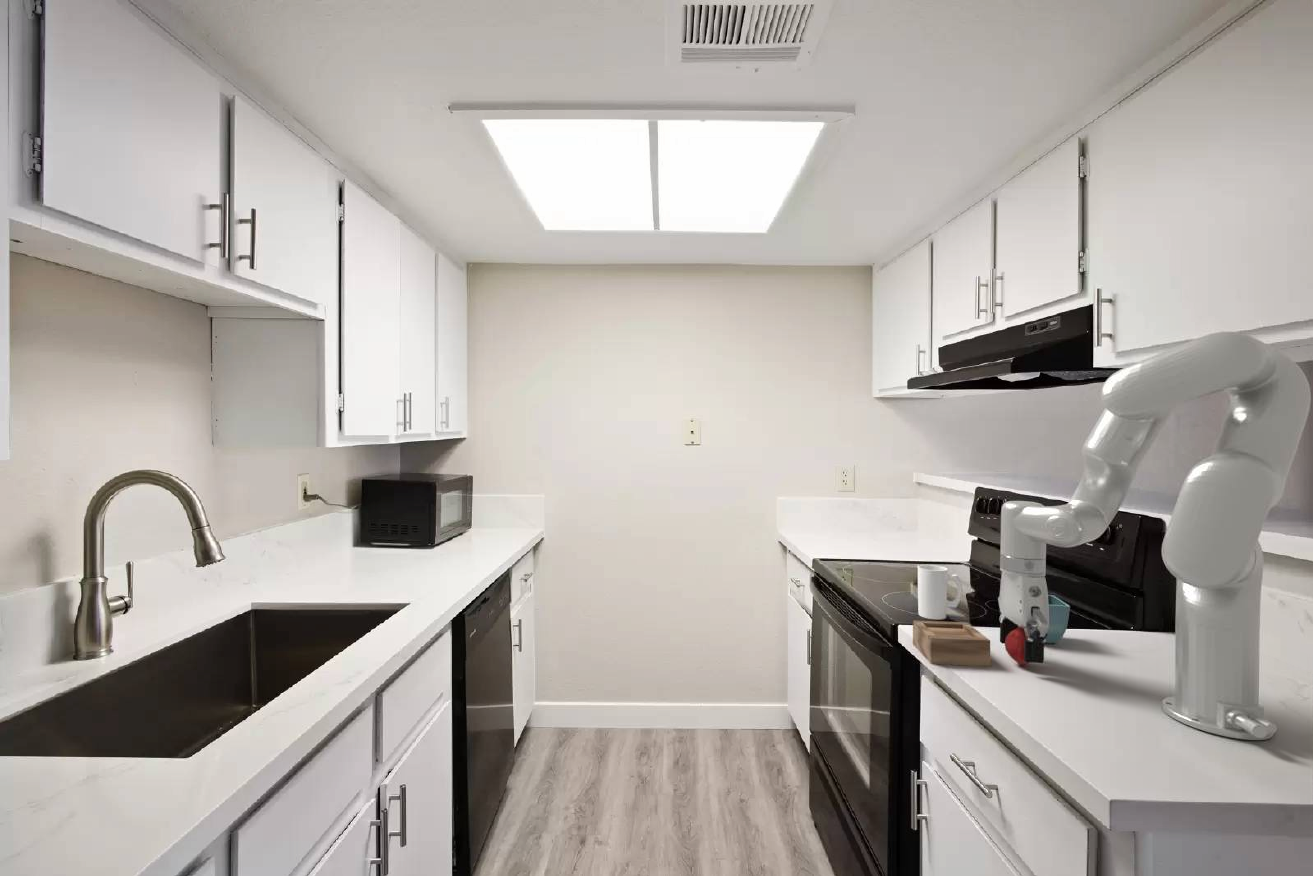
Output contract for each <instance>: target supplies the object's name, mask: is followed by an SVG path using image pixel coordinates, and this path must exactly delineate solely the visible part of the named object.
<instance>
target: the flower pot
mask: <svg viewBox="0 0 1313 876" xmlns="http://www.w3.org/2000/svg"><path fill="white" fill-rule="evenodd" d="M1048 605H1049V629H1048V631H1047V637H1046V638H1045V639H1046V642H1045V643H1046V644H1052V643H1054V644H1058V643H1059V642H1060V640H1061V639H1062V638H1063V636H1064V635H1065V632H1066V630H1067V628H1068V621H1069V617H1070V609H1071V606H1070V605H1069V604H1067V603H1066V602H1065V601H1063V600H1061V599H1060V598H1058V597H1056V596H1055V595H1052V594H1051V595H1050V594H1048ZM1027 624H1031V623H1027ZM1018 627H1019V626H1018ZM1030 631H1031V633H1033V632H1034V631H1035V630H1031V629H1030ZM1045 643H1044V644H1045Z"/></svg>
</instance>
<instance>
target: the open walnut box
mask: <svg viewBox="0 0 1313 876" xmlns="http://www.w3.org/2000/svg"><path fill="white" fill-rule="evenodd" d="M912 645H913V646H914V647H915V648H916V649H917V650H918V651H919V652H920V654H921V655H922V656H923V657H924V658H925V659H926V661H927V662H928V663H930V664H936V665H937V664H938V665H952V666H953V665H954V666H955V665H956V666H959V665H960V666H972V667H974V666H977V667H991V640H990V639H989V638H988V637H986V636H985V635H983V634H982V633H981V631H978V630H977V629H976V628H975V627H973V626H972V625H971V624H969V623H968V622H961V621H959V622H958V621H957V622H955V621H939V620H912Z"/></svg>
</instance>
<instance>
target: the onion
mask: <svg viewBox="0 0 1313 876" xmlns="http://www.w3.org/2000/svg"><path fill="white" fill-rule="evenodd" d="M1031 634H1032V633H1031ZM1024 640H1027V638H1026V635H1025V631H1024V628H1022V627H1020V626H1019V627H1018V629H1015V630H1013V631H1011V632H1010V633H1009V634H1008V635H1007V637H1006V640H1005V644H1004V647H1005V650H1006V652H1007V655H1009V657H1010V658H1011V659H1012V660H1013V661H1015V662H1016V663H1017V665H1018V664H1019V665H1020V666H1026V665H1028V664H1030V663H1029V662H1026V661H1025V660H1024Z"/></svg>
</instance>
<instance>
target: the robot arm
mask: <svg viewBox="0 0 1313 876" xmlns="http://www.w3.org/2000/svg"><path fill="white" fill-rule="evenodd" d="M1309 383H1310V382H1309V381H1308V378H1307V376H1306V375H1305V373H1304V371H1303V370H1302V369H1301V368H1300V366H1299V365H1298V364H1297V363H1296V362H1295V361H1294V360H1292V359H1291V358H1289V356H1287V355H1286V354H1284V353H1283V352H1282V351H1280V350H1277V349H1276V348H1274V347H1272V346H1271V345H1269V344H1267V343H1266V342H1263V341H1262V340H1259V339H1257V338H1255V337H1253V336H1251V335H1249V334H1246V333H1243V332H1238V331H1218V332H1213V333H1209V334H1206V335H1203V336H1201V337H1198V338H1195V339H1193V340H1189V341H1187V342H1185V343H1182V344H1179V345H1177V346H1174V347H1172V348H1170V349H1167V350H1165V351H1163V352H1160V353H1158V354H1156V355H1153V356H1150V357H1147V358H1144V359H1143V360H1140V361H1138V362H1135V363H1133V364H1130V365H1128V366H1126V367H1123V368H1121V369H1119V370H1117V371H1115V372H1114V373H1113V374H1111V375H1110V376H1109V377H1108V378H1106V380H1105V381H1104V383H1103V385H1102V387H1101V391H1100V400H1101V403H1102V405H1103V407H1104V409H1103V411H1102V413H1101V414H1100V416H1099V418H1098V419H1097V421H1096V423H1095V425H1094V426H1093V428H1092V430H1091V432H1090V433H1089V435H1088V436H1087V438H1086V440H1085V442H1084V443H1083V445H1082V451H1081V453H1082V458H1083V462H1084V469H1083V472H1082V473H1083V475H1082V477H1081V479H1080V481H1079V484H1078V485H1077V487H1076V489H1075V491H1074V493H1073V494H1072V496H1071V498H1070V499H1069V501H1068V502H1067V503H1066V504H1060V505H1053V506H1052V505H1051V506H1049V505H1046V506H1045V505H1043V503H1039V502H1035V501H1029V500H1028V501H1026V500H1009V501H1005V502H1004V503H1003V504H1002V505H1001V511H1000V554H999V555H1000V556H999V557H1000V560H999V570H1000V571H1001V578H1000V584H999V585H1000V588H999V596H998V597H997V600H998V601H997V602H998V606H999V608H998V612H999V615H1000V616H999V619H998V620H999V622H1000V623H999V624H1000V625H999V642H1000V643H1001V644H1004V645H1005V640H1006V637H1007V635H1008V634H1009V633H1010V632H1011V631H1013V630H1015V629H1018V626H1020V627H1022V628H1024V631H1025V635H1026V638H1027V640H1024V660H1025V661H1026V662H1029V663H1028V664H1032V663H1033V664H1043V663H1044V662H1045V642H1046V639H1045V638H1046V637H1047V631H1048V629H1049V605H1048V595H1049V593H1048V585H1047V581H1046V577H1045V576H1046V572H1047V571H1046V567H1047V566H1046V564H1047V562H1046V560H1047V558H1046V557H1047V545H1051V546H1055V547H1059V548H1072V547H1077V546H1081V545H1083V544H1086V543H1091V542H1092V541H1095V540H1096V539H1098V538H1100V537H1101V536H1102V535H1103V534H1104V532H1105V531H1106V530H1107V529H1108V527H1109V525H1110V524H1111V523H1112V521H1113V519H1114V518H1115V516H1116V514H1117V513H1118V512H1119V510H1120V508H1121V506H1122V505H1123V503H1124V501H1125V500H1126V498H1127V495H1128V493H1129V491H1130V488H1131V486H1132V484H1133V482H1134V480H1135V478H1136V476H1137V471H1138V469H1139V467H1140V465H1141V464H1142V462H1143V460H1144V459H1145V457H1146V455H1147V454H1148V452H1149V451H1150V449H1151V448H1152V446H1153V444H1154V443H1155V441H1156V440H1157V438H1158V437H1159V434H1160V433H1161V431H1162V430H1163V428H1164V427H1165V425H1166V424H1167V422H1168V421H1169V419H1170V417H1171V416H1172V414H1173V412H1174V411H1175V408H1176V407H1177V406H1180V405H1184V404H1187V403H1190V402H1193V401H1195V400H1198V399H1201V398H1204V397H1206V396H1210V395H1214V394H1216V393H1219V392H1225V393H1226V394H1227V395H1228V396H1229V400H1230V402H1229V403H1230V404H1229V407H1228V410H1227V413H1226V414H1225V416H1224V419H1223V421H1222V424H1221V427H1220V431H1219V435H1218V437H1217V440H1216V442H1215V445H1214V448H1213V450H1212V453H1211V455H1210V456H1209V457H1206V458H1204V459H1202V460H1201V461H1199V462H1197V463H1196V464H1195V465H1194V466H1192V467H1191V469H1190V470H1189V472H1188V473H1187V475H1186V477H1185V478H1184V481H1183V483H1182V486H1181V488H1180V490H1179V494H1178V497H1177V500H1176V501H1175V506H1174V508H1173V511H1172V513H1171V517H1170V520H1169V523H1168V525H1167V528H1166V532H1165V534H1164V537H1163V541H1162V544H1161V558H1162V560H1163V561H1162V562H1163V563H1164V565H1165V567H1166V569H1167V570H1168V571H1169V573H1170V574H1171V575H1172V576H1174V578H1176V579H1177V584H1176V598H1175V599H1176V600H1175V641H1174V642H1175V644H1174V646H1175V648H1174V650H1175V651H1174V652H1175V655H1174V659H1175V661H1174V663H1175V664H1174V665H1175V667H1174V695H1172V696H1167V697H1165V698H1163V699H1162V701H1161V702H1162V705H1161V707H1162V710H1163V711H1164V713H1166V714H1167V715H1168V716H1169V717H1170V718H1172V719H1174V720H1176V721H1178V722H1180V723H1182V724H1184V725H1187V726H1190V727H1192V728H1194V729H1196V730H1201V731H1202V732H1203V731H1204V732H1207V733H1210V734H1214V735H1217V736H1221V737H1225V738H1231V739H1238V740H1246V741H1264V740H1268V739H1270V738H1273V736H1274V734H1275V733H1276V732H1277V729H1278V727H1277V725H1276V724H1274V723H1272V722H1271V721H1269V720H1267V719H1265V718H1264V717H1265V716H1264V714H1265V713H1264V711H1265V710H1264V709H1265V708H1264V706H1262V705H1260V632H1261V630H1260V629H1261V598H1262V597H1261V595H1262V585H1263V574H1264V573H1263V572H1264V553H1263V552H1264V551H1263V549H1262V546H1261V543H1260V540H1259V538H1260V536H1261V533H1262V530H1263V527H1264V525H1265V522H1266V519H1267V517H1268V514H1269V512H1270V511H1271V509H1272V508H1273V507H1275V506H1276V505H1277V504H1278V503H1279V501H1280V500H1281V499H1282V497H1283V494H1284V491H1285V486H1286V481H1287V478H1288V475H1289V473H1290V469H1291V467H1292V464H1293V461H1294V458H1295V456H1296V453H1297V451H1298V447H1299V444H1300V441H1301V437H1302V435H1303V432H1304V428H1305V425H1306V423H1307V420H1308V416H1309V412H1310V409H1311V402H1312V400H1311V398H1312V393H1311V387H1310V384H1309ZM1027 623H1031V624H1027ZM1030 629H1031V630H1035V631H1034V632H1033V633H1032V634H1031V631H1030Z"/></svg>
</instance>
